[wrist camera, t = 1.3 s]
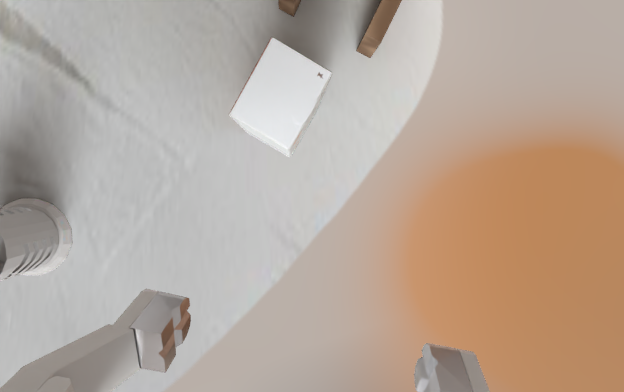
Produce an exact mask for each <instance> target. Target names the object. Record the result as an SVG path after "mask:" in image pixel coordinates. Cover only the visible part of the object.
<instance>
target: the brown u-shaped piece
mask: <svg viewBox="0 0 624 392" xmlns="http://www.w3.org/2000/svg"><path fill="white" fill-rule="evenodd" d="M401 1H402V0H381V2H380V4H379V6H378V8H377V10H376V12H375V14H374V16H373V18H372V20H371V22H370V24H369V26H368V28H367V30H366V32H365V34H364V36H363V38H362V40H361V42H360V45H359V47H358V49H357V51H358V52H359V53H361V54H363V55H365V56H367V57H369V58H371V56H372V55H373V53H374V52H375V50H376V49H377V47H378V46H379V45H380V43H381V41H382V39H383V37H384V35H385V33H386V31H387V29H388V27H389V25H390V23H391V21H392V19H393V17H394V15H395V13H396V11H397V9H398V7H399V5H400V3H401ZM300 2H301V0H279V9H280V10H282V11H284V12H286V13H288V14H289V15H291V16H293V17H294V14H295V12H296V10H297V8H298V6H299V4H300Z"/></svg>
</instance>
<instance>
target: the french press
mask: <svg viewBox="0 0 624 392" xmlns="http://www.w3.org/2000/svg"><path fill="white" fill-rule="evenodd" d="M71 245H72V233H71V227H70V225H69V223H68V221H67V219H66V217H65V215H64V214H63V213H62V212H61V211H60V210H58V209H57V208H56V207H55V206H54V205H53V204H51V203H48V202H45V201H43V200H40V199H37V198H20V199H18V200H15V201H13V202H10V203H8V204H6V205H4V206H3V207H2V208H1V209H0V282H1V280H2V281H4V280H6V279H9V278H12V276H13V277H14V276H17V275H20V274H22V275H43V274H45V273H47V272H50V271H52V270H55V269H56V268H57V267H58V266H59V265H60V264H61V263H62V262H63V261H64V260H65V259H66V258H67V256H68V253H69V251H70V248H71ZM11 273H14V274H13V275H11ZM18 273H19V274H18ZM6 277H9V278H6Z"/></svg>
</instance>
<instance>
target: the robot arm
mask: <svg viewBox="0 0 624 392" xmlns="http://www.w3.org/2000/svg"><path fill="white" fill-rule="evenodd" d="M189 306H190V301H189V298H187V297H183V296H178V295H174V294H169V293H165V292H159V291H155V290H150V289H145V290H143V291H142V292H141V293H140V294H139V295H138V296H137V297H136V299H135V300H134V301H133V302H132V303H131V304H130V306H129V307H128V308H127V309H126V310H125V311H124V313H123V314H122V315H121V316H120V317H119V318H118V320H117V321H116V322H115V323H114V324H113V325H109V324H108V325H106V326H104V327H102V328H100V329H98V330H96V331H94V332H92V333H90V334H88V335H86V336H84V337H82V338H80V339H78V340H76V341H74V342H72V343H70V344H68V345H66V346H64V347H62V348H60V349H58V350H56V351H54V352H52V353H50V354H48V355H46V356H43V357H41V358H39V359H37V360H35V361H33V362H31V363H29V364H27V365H25V366H23V367H22V368H21V369H20V370H19V371H18V372H17V373H16V374H15V375H14V376H13V377H12V378H11V379H10V380H9V381H8V382H7V383H6V384H5V385H3V386H2V387H1V388H0V392H111V391H112V390H114V389H115V388H116V387H118V386H119V385H120V384H122V383H123V382H124V381H126V380H127V379H128V378H130V377H131V376H132V375H134V374H135V373H137V372H138V371H139V370H140V368H142V369H147V370H153V371H159V372H165V373H166V371H167V369H168V368H169V366H170V364H171V362H172V361H173V359H174V357H175V355H176V348H175V347H177V346H179V345H180V344H182V343H183V341H184V340H185V338H186V336H187V333H188V330H189V327H190V322H191V315H190V314H189V313H188V311H187V310H188V308H189ZM422 354H423V357H421V358H420V359H418V361H417V364H416V367H415V374H414V376H415V387H416V390H417V392H490V391H489V388H488V386H487V383H486V380H485V378H484V375H483V373H482V370H481V368H480V365H479V362H478V360H477V357H476V355H475V354H474V353H473V352H471V351H466V350H460V349H455V348H451V347H445V346H440V345H434V344H428V343H426V344H425V345H424V347H423V349H422Z"/></svg>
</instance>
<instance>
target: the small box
mask: <svg viewBox="0 0 624 392" xmlns="http://www.w3.org/2000/svg"><path fill="white" fill-rule="evenodd" d="M331 75H332V72H331V71H329V70H327V69H326V68H324V67H322V66H320V65H319V64H317V63H315V62H313V61H312V60H310V59H308V58H307V57H305V56H303V55H302V54H300V53H298V52H297V51H295V50H293V49H292V48H290V47H288V46H287V45H285V44H283V43H282V42H280V41H278V40H277V39H275V38H273V37H272V38H271V39H270V41H269V43H268V44H267V46H266V48H265V50H264V52H263V53H262V55H261V57H260V59H259V61H258V62H257V64H256V66H255V68H254V70H253V71H252V73H251V75H250V77H249V79H248V80H247V82H246V84H245V86H244V88H243V90H242V91H241V93H240V95H239V97H238V99H237V101H236V102H235V104H234V106H233V108H232V110H231V111H230V113H229V115H230V116H231V118H232V119H234V120H235V121H236V122H237V123H238V124H239V125H240V126H241V127H242V128H243V129H244V130H245V131H246V132H247V133H248V134H250V135H251V136H253V137H255V138H256V139H258V140H260V141H262V142H263V143H265V144H267V145H269V146H270V147H272V148H274V149H276V150H277V151H279V152H281V153H283V154H284V155H286V156H288V157H291V156H292V154H293V152H294V151H295V149H296V147H297V145H298V144H299V142H300V140H301V138H302V137H303V135H304V133H305V131H306V129H307V128H308V126H309V124H310V122H311V120H312V119H313V117H314V115H315V113H316V111H317V109H318V107H319V105H320V103H321V100H322V97H323V95H324V92H325V90H326V88H327V85H328V83H329V80H330V78H331Z"/></svg>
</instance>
